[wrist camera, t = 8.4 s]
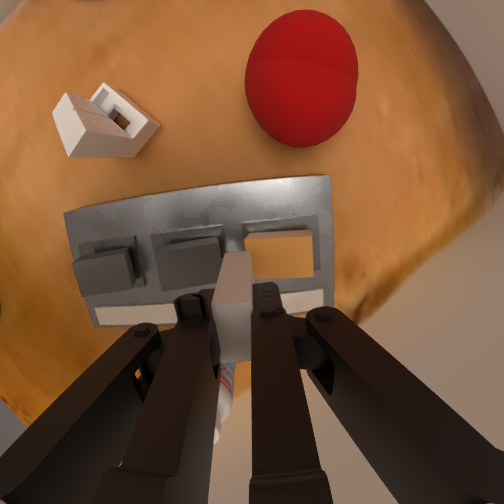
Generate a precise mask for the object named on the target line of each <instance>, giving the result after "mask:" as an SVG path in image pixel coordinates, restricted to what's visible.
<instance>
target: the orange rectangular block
mask: <svg viewBox="0 0 504 504" xmlns="http://www.w3.org/2000/svg"><path fill="white" fill-rule="evenodd" d="M244 244H245V251H250V250H251V259H252V268H253V276H254V279H276V278H308V277H314V269H313V244H312V230H295V231H276V232H258V233H249V234H248V236H247V237H246V238H245V239H244Z"/></svg>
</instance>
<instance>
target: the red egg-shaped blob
mask: <svg viewBox="0 0 504 504" xmlns="http://www.w3.org/2000/svg"><path fill="white" fill-rule="evenodd" d="M357 80H358V60H357V55H356V51H355V47H354V45H353V42H352V40H351V38H350V36H349V34H348V33H347V32H346V30H345V29H344V27H343V26H342V25H341V24H340V23H338V22H337V21H336V20H335V19H333V18H332V17H330V16H328V15H327V14H324V13H321V12H318V11H314V10H297V11H293V12H290V13H287V14H284V15H282V16H281V17H279V18H278V19H276V20H274V21H273V22H272V23H271V24H270V25H269V26H268V27H267V28H266V29H265V30H264V31H263V32H262V34H261V35H260V36H259V38H258V39H257V41H256V42H255V44H254V47H253V49H252V51H251V53H250V55H249V59H248V63H247V67H246V73H245V90H246V96H247V100H248V103H249V106H250V109H251V111H252V113H253V115H254V117H255V119H256V120H257V121H258V123H259V124H260V126H261V127H262V128H263V129H264V130H265V131H266V132H267V133H268V134H269V135H270V136H271V137H272V138H274V139H275V140H277V141H279V142H280V143H282V144H285V145H288V146H291V147H303V148H304V147H309V146H314V145H317V144H319V143H322V142H324V141H326V140H328V139H329V138H331V137H332V136H333V135H334V134H336V133H337V132H338V131H339V130H340V129H341V128H342V126H343V125H344V124H345V123H346V121H347V120H348V118H349V116H350V114H351V112H352V110H353V107H354V103H355V100H356V87H357Z"/></svg>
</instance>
